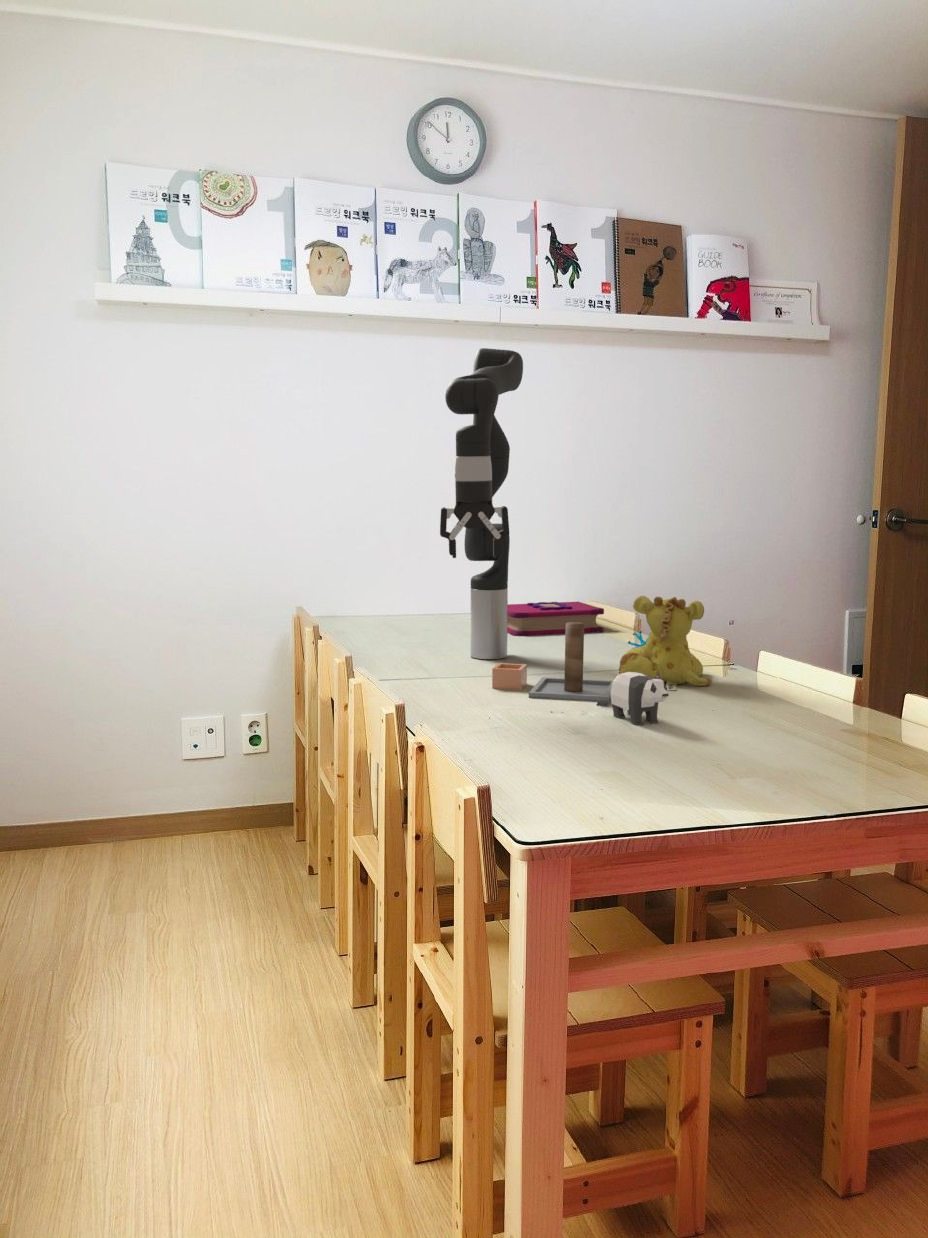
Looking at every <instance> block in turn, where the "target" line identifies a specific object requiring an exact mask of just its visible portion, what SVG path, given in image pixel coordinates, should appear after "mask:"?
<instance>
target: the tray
mask: <svg viewBox="0 0 928 1238" xmlns="http://www.w3.org/2000/svg"><path fill="white" fill-rule="evenodd" d="M613 681H614V680H605V679H603V680H602V679H584V678H583V691H581V692H567V691H565V690H564V677H563V678H562V677H546V676H545V677H544V676H543V677H541V678H540V680H539V681H538V682H537V683H536V684H535V685H534V686H533V687H532V688H531V689H530V690H529V692H528V698H530V699H546V700H547V699H548V700H562V701H563V700H565V701H578V702H579V701H580V702H581V701H582V702H583V701H584V702H597V703H596V706H607V707H608V706H610V703H611V688H612V683H613Z"/></svg>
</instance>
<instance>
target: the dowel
mask: <svg viewBox="0 0 928 1238" xmlns="http://www.w3.org/2000/svg"><path fill="white" fill-rule="evenodd" d="M564 635H565V639H564V640H565V641H564V677H563V678H564V690H565V691H567V692H581V691H583V679H584V652H585V651H584V649H585V648H584V645H585V633H584V623H580V622H568V623H566V630H565V634H564Z"/></svg>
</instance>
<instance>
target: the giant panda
mask: <svg viewBox="0 0 928 1238" xmlns="http://www.w3.org/2000/svg"><path fill="white" fill-rule="evenodd" d="M659 678H660V675H656V676H655V677H654V679H652V677H651V676H648V677H647V676H645V675H643V674H641V673H636V672H626V673H622V674H619V673H618V675H616V677H615V678H614V680H612V681H613V683H612V688H611V701H610V703H611V706H612V711H613V712H612V713H613V717H615V718H618V719H625V718H626V714H625V712H624V710H627V715H628V716H629V717H630V718H629V719H630V723H631V724H632V725H635V726H637V725H640V726H644V722H643V720H642V716H643V714H644V712H645V722H646V723H649V722H650V723H649V724H652V723H655V724H659V719H658V710H659V703H661V702H664V701H665V700H667V698H669V693H668V691H667V687H666V682H664V681H663V680H661V679H659Z"/></svg>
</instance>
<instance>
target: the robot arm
mask: <svg viewBox="0 0 928 1238" xmlns="http://www.w3.org/2000/svg"><path fill="white" fill-rule="evenodd" d="M523 360H524V359H523V358H522V355H521V353H519V352H518V351H515V350H509V349H499V348H486V347H484V348H479V349H478V350H477V351H476V353H475V357H474V361H473V372H472V373H471V374H469V375H464V376H459V377H456V378H454V379H452V380H451V381H450V382H449V384H448V386H447V387H446V390H445V403H446V406H447V408H448V409H449V411H451V413H453V414H456V415H473V417H472V418H473V419H472V420H473V421H472V422H473V423H472V424H470V425H467V426H462V427H459V428H458V429H457V430H456V432H455V458H456V459H455V467H454V480H455V481H454V482H455V484H454V485H455V506H454V508H449V507H448V508H447V507H445V506H444V507H441V508H440V521H439V522H440V523H439V525H440V526H439V534H440V537H442V538H445V539H447V540H448V552H449V555H450V556H452V558H453V559H457V540H456V537H457V536H458V534H459V533H460V532H461V531H462V529H464V528H465V532H464V533H465V534H464V553H465V557H466V559H467V560H468V561H471V562H493V563H492V565H491V567H490V568H488V569H486V570H485V571H483V572H480V573H478V574H476V575H473V576H472V577H471V578H470V657H471V658H473V659H480V660H498V659H504V658H505V659H506V658H507V657H508V633H507V623H508V604H509V603H508V600H509V599H508V594H509V593H508V591H509V589H508V586H509V557H510V542H511V541H510V524H509V523H510V521H509V520H510V519H509V510H508V507H507V506H505V505H503V506H500V507H499V506H498V507H495V506H494V505H493V497H494V496H495V495H496V493H497V492H498V490H500V488H501V486H502V485H503V483H504V482H505V481H506V479H507V476H508V475H509V468H510V467H509V465H510V450H511V448H510V444H509V441H508V438H507V436H506V434H505V432H504V431H503V428H502V427H501V425H500V423H499V422H498V420H497V418H496V416H495V412H496V409H497V405H498V401H499V395H503V394H505V393H508V392H514V391H516V390H517V389H518V388H519V386H520V384H521V383H522V379H523V374H524V363H523V362H524V361H523ZM495 513H496V514H497V517H499V518H501V523H492V522H491V521H490V520H491V519H492V518H493V516H494V515H495ZM452 515H454V516H455V517H456V518H457V520H458V521H457V522H456V524H455V525H454V527H453V528H452V529H451V531H450V532H449V531H447V526H448V525H447V522H448V521H447V520H448V519H450V518H451V516H452Z"/></svg>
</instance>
